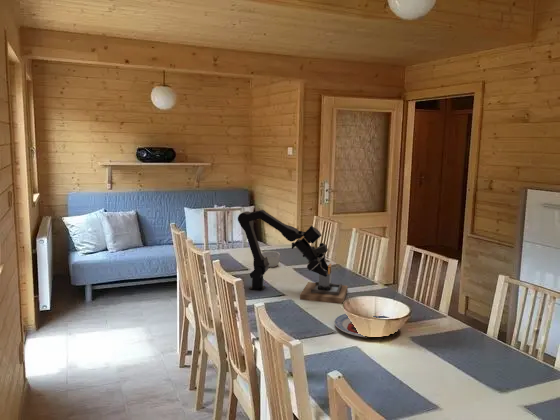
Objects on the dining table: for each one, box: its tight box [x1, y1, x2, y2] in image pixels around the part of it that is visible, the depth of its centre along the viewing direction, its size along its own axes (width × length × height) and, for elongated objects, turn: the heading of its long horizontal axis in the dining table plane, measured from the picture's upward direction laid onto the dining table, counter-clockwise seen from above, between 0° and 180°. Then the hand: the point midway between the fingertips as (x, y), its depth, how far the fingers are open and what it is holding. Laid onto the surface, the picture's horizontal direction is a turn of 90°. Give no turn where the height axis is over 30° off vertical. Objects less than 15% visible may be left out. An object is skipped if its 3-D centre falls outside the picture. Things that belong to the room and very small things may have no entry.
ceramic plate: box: [334, 313, 390, 338], centre depth 191 cm, size 26×26×3 cm
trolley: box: [318, 263, 333, 291], centre depth 230 cm, size 6×6×12 cm
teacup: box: [261, 250, 281, 268], centre depth 281 cm, size 14×11×8 cm
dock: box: [299, 281, 349, 304], centre depth 231 cm, size 20×20×4 cm
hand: (328, 273), depth 229 cm, fingers open, 9 cm apart
